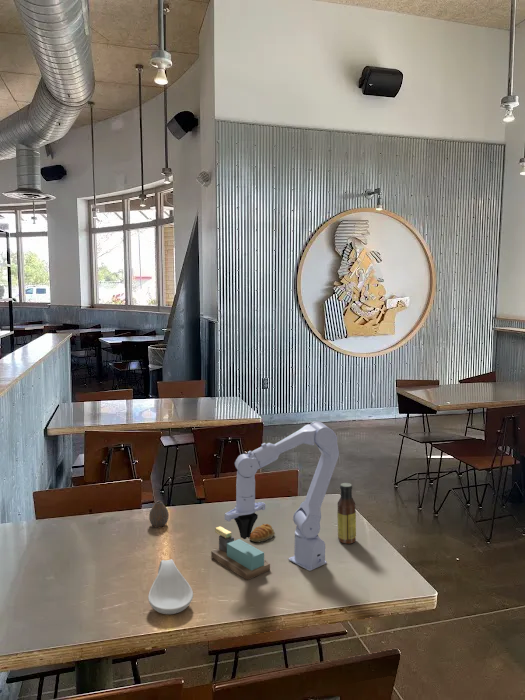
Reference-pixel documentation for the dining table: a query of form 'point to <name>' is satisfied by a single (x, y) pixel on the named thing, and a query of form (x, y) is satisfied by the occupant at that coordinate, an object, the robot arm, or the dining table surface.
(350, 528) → the sauce bottle
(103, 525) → the dining table surface
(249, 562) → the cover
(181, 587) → the spoon rest
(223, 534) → the tan rectangular bar
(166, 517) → the grey oval piece
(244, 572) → the base
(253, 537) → the pastry
